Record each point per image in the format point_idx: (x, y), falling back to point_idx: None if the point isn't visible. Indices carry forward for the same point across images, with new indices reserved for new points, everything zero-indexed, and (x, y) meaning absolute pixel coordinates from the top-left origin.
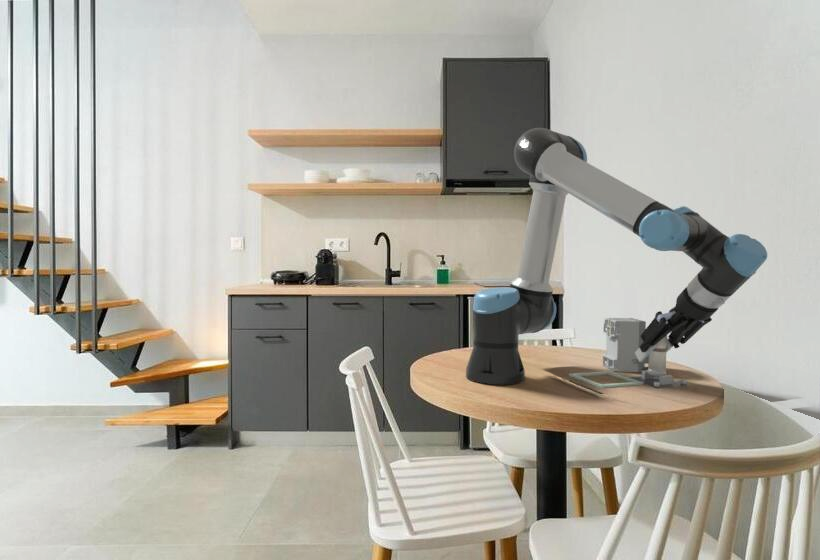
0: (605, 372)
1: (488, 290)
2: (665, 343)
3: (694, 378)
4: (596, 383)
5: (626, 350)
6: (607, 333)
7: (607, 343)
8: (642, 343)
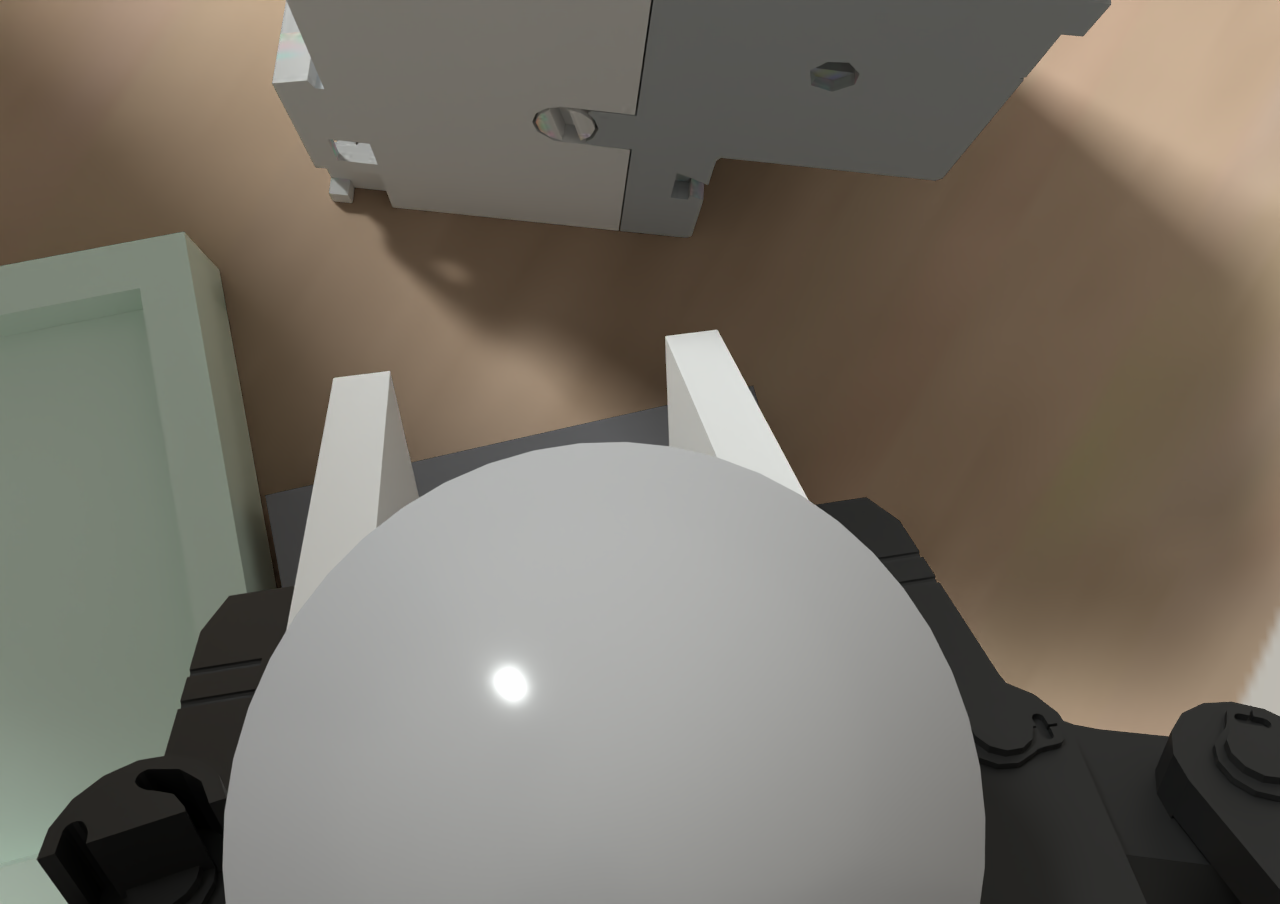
0: (103, 297)
1: None
2: None
3: (1227, 307)
4: None
5: (440, 10)
6: None
7: None
8: (177, 728)
